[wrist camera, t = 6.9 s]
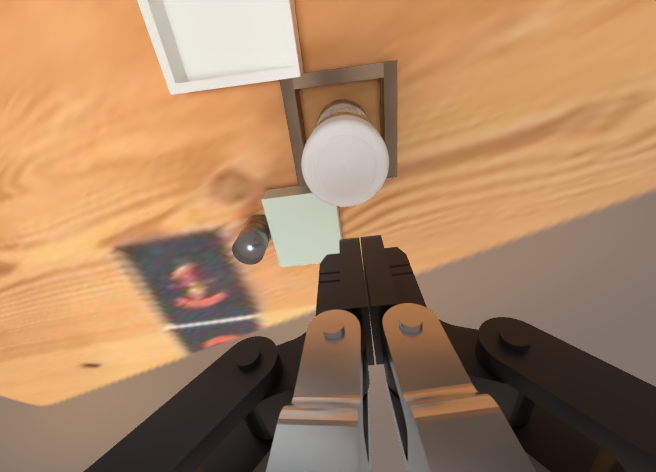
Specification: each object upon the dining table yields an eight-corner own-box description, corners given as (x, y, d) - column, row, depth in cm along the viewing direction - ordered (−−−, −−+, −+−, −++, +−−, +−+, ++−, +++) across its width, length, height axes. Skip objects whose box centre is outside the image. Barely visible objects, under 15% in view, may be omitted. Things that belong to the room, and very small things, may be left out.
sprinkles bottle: (366, 150, 27) (388, 208, 15) (318, 151, 27) (303, 211, 16) (367, 96, 25) (394, 117, 13) (315, 99, 25) (295, 122, 13)
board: (334, 179, 29) (334, 190, 26) (343, 245, 33) (344, 260, 30) (267, 188, 30) (261, 199, 27) (284, 252, 34) (280, 267, 31)
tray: (279, -101, 19) (270, -129, 16) (304, 76, 24) (300, 76, 22) (134, -73, 20) (104, -95, 17) (188, 92, 25) (170, 94, 22)
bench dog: (270, 213, 31) (259, 236, 26) (276, 237, 32) (266, 263, 28) (243, 216, 31) (228, 239, 27) (250, 239, 32) (237, 265, 28)
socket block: (391, 61, 23) (397, 60, 21) (392, 168, 28) (397, 176, 26) (284, 76, 24) (279, 76, 22) (301, 178, 29) (298, 187, 26)
